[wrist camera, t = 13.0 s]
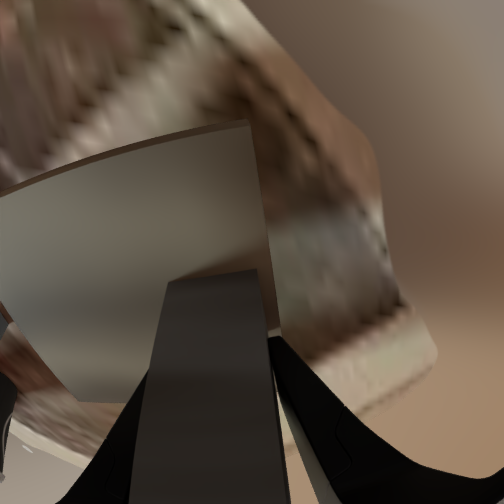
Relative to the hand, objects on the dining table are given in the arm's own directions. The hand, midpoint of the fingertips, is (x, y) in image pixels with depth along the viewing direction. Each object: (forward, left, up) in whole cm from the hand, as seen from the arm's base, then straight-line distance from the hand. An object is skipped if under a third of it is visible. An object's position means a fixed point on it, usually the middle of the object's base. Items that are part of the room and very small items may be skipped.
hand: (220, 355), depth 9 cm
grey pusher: (0, +4, -4) cm, 5 cm away
